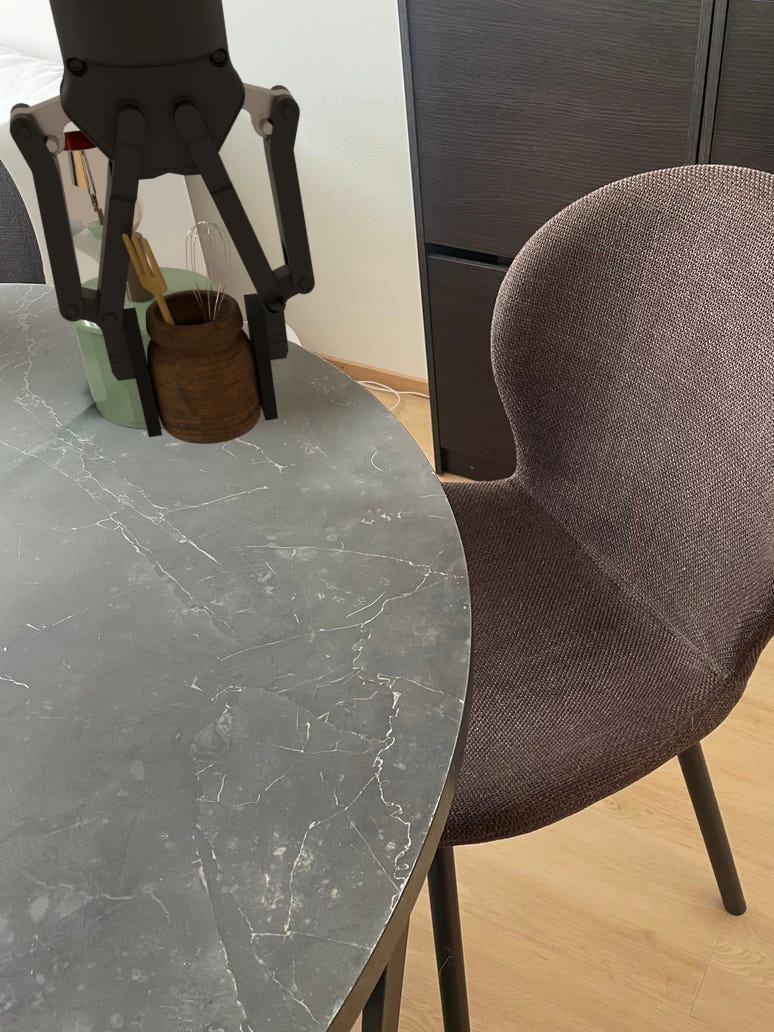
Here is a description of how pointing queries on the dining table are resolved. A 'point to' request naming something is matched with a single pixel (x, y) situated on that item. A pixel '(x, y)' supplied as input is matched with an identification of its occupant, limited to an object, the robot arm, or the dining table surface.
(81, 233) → the wineglass
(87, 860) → the dining table surface
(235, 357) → the utensil holder
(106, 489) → the dining table surface
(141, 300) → the pot lid
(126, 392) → the pot
